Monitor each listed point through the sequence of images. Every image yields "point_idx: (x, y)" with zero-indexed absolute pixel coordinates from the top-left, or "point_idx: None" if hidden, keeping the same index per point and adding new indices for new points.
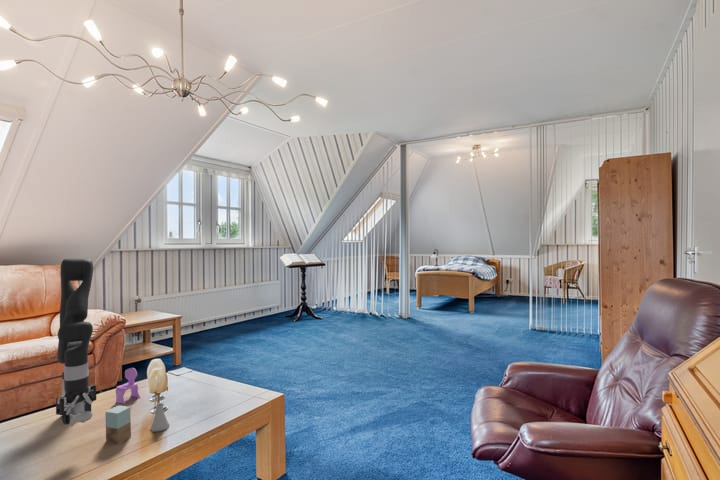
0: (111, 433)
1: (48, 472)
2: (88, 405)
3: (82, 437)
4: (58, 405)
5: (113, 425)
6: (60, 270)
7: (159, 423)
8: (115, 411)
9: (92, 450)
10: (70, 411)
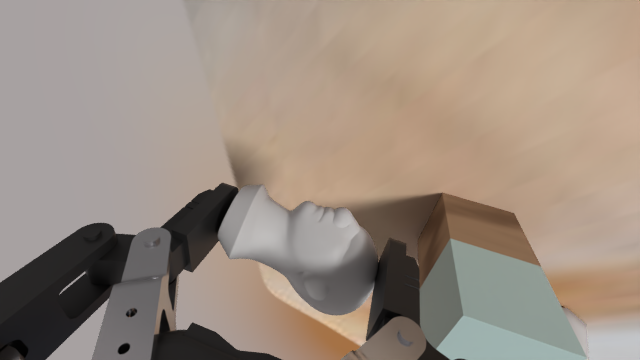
0: (432, 244)
1: (222, 119)
2: (367, 337)
3: (521, 39)
4: None
5: (429, 284)
6: None
7: None
8: (455, 357)
9: (370, 178)
10: None
